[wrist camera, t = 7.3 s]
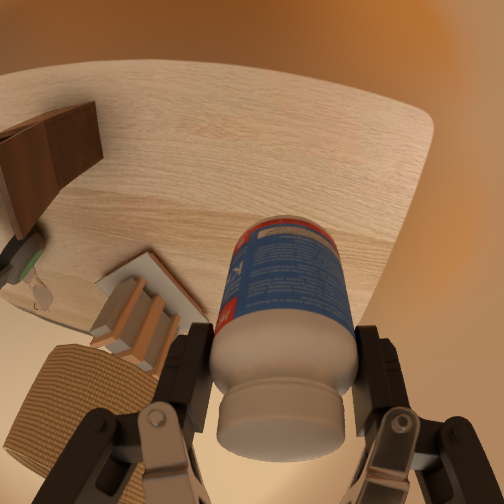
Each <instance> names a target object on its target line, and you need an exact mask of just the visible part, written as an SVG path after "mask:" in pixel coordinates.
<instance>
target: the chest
mask: <svg viewBox="0 0 504 504" xmlns="http://www.w3.org/2000/svg"><path fill="white" fill-rule="evenodd" d="M41 121H44V124H45V129H46V135H47V140H48V145H49V150H50V155H51V159H52V164H53V168H54V172H55V176H56V180H57V184H58V188H59V191H60V190H61V189H62V188H63V187H65V186H66V185H67V184H69V183H70V182H71V181H73V180H74V179H75V178H77V177H78V176H79V175H81V174H82V173H83V172H85V171H86V170H88V169H89V168H90V167H92V166H93V165H95V164H96V163H97V162H99V161H100V160H102V159H103V153H102V147H101V141H100V135H99V129H98V122H97V115H96V108H95V101H93V102H88V103H83V104H79V105H75V106H70V107H66V108H62V109H58V110H55V111H51V112H47V113H44V114H42V115H39V116H37V117H34V118H32V119H29V120H27V121H24V122H22V123H20V124H18V125H15V126H13V127H11V128H9V129H7V130H4V131H2V132H0V143H1V142H3V141H5V140H6V139H8V138H10V137H12V136H13V135H15V134H17V133H19V132H21V131H23V130H24V129H26V128H28V127H30V126H32V125H34V124H36V123H38V122H41Z"/></svg>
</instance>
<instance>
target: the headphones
mask: <svg viewBox="0 0 504 504" xmlns="http://www.w3.org/2000/svg"><path fill="white" fill-rule="evenodd" d="M44 244H45V243H44V239H43V238H42V236H41V235H40V234H39V233H38V231H37V229H36V228H35V227H34V226H33V227H32V228H31V230H30V231H29V232H28V234H27V235H26V237H25V238H24V239H21V240H17V238H16V235H14V236H13V237H12V239H11V240H10V241H9V242H8V244H7V245H6V247H5V248H4V250H3V251H2V253H1V254H0V289H1V288H2V287H3V286H4V285H5V284H6V283H7V282H8V283H9V284H12V285H15V284H18V283H19V282H20V281H21V280H22V279H23V278H24V277H25V276H26V275H27V274H28V272H29V271H30V270H31V269H32V267H33V266H34V264H35V263H36V261H37V260H38V258H39V257H40V255H41V253H42V251H43V249H44Z"/></svg>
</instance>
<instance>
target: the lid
mask: <svg viewBox="0 0 504 504" xmlns="http://www.w3.org/2000/svg"><path fill="white" fill-rule="evenodd" d="M0 191H1V194H2V197H3V200H4V203H5V207H6V210H7V213H8V216H9V218H10V221H11V224H12V227H13V230H14V232H15V235H16V238H17V240H21V239H24V238H25V237H26V235H27V234H28V232H29V231H30V230H31V228H32V227H33V226H34V224H35V223H36V221H37V220H38V219H39V218H40V216H41V215H42V214H43V212H44V211H45V210H46V208H47V207H48V206H49V205H50V203H51V202H52V201H53V200H54V198H55V197H56V196H57V195H58V193H59V188H58V184H57V180H56V176H55V172H54V168H53V164H52V159H51V155H50V150H49V145H48V140H47V135H46V129H45V124H44V121H41V122H38V123H36V124H34V125H32V126H30V127H28V128H26V129H24V130H23V131H21V132H19V133H17V134H15V135H13V136H12V137H10V138H8V139H6V140H5V141H3V142H1V143H0Z"/></svg>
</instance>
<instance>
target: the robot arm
mask: <svg viewBox="0 0 504 504" xmlns="http://www.w3.org/2000/svg"><path fill="white" fill-rule="evenodd" d="M213 337H214V330H213V325H212V323H199V322H193V323H192V324H191V326H190V330H189V333H188V335H178V336H177V337H176V339H175V340H174V341H173V342H172V343H171V344H170V347H169V350H168V353H167V358H166V359H165V362H164V366H163V368H162V371H161V374H160V377H159V381H158V384H157V387H156V390H155V393H154V396H153V399H152V401H151V402H150V404H148V405H146V406H145V407H143V408H142V410H141V411H139V412H136V413H130V414H121V415H114V414H113V413H112V412H111V411H110V410H108V409H106V408H95V409H92V410H90V411H89V412H88V413H87V414H86V415H85V416H84V418H83V419H82V421H81V422H80V424H79V425H78V427H77V429H76V430H75V432H74V433H73V435H72V437H71V438H70V440H69V441H68V443H67V445H66V446H65V448H64V449H63V451H62V453H61V454H60V456H59V458H58V459H57V461H56V463H55V464H54V466H53V468H52V469H51V471H50V473H49V474H48V476H47V478H46V479H45V481H44V483H43V485H42V486H41V488H40V490H39V491H38V493H37V495H36V497H35V498H34V500H33V502H32V503H31V504H117V503H118V501H119V499H120V498H121V496H122V494H123V492H124V490H125V488H126V486H127V484H128V482H129V480H130V478H131V476H132V474H133V472H134V471H135V469H136V467H137V465H138V463H139V462H144V467H145V472H144V474H143V475H142V485H143V491H144V496H145V501H146V504H211V502H210V499H209V496H208V494H207V491H206V489H205V487H204V484H203V480H202V477H201V473H200V470H199V466H198V462H197V459H196V455H195V451H194V447H193V444H192V442H193V437H194V433H195V432H199V433H203V429H204V423H205V418H206V413H207V408H208V403H209V398H210V393H211V388H212V383H213V379H212V377H211V373H210V369H209V358H210V351H211V346H212V341H213ZM355 337H356V343H357V349H358V358H359V367H358V373H357V376H356V379H355V381H354V383H353V384H352V395H353V404H354V413H355V423H356V434H357V437H364V436H365V442H366V445H365V447H364V449H363V451H362V454H361V457H360V460H359V462H358V465H357V467H356V470H355V472H354V475H353V477H352V480H351V482H350V485H349V487H348V489H347V491H346V493H345V495H344V496H343V498H342V500H341V502H340V504H404V503H405V500H406V497H407V494H408V491H409V485H410V482H409V481H408V473H409V470H410V469H413V470H414V471H415V474H416V476H417V479H418V482H419V485H420V488H421V491H422V494H423V497H424V499H425V503H426V504H504V498H503V496H502V493H501V491H500V488H499V485H498V483H497V480H496V478H495V475H494V473H493V470H492V468H491V466H490V463H489V461H488V459H487V456H486V454H485V452H484V450H483V447H482V445H481V443H480V441H479V439H478V437H477V434H476V432H475V430H474V428H473V426H472V424H471V423H470V422H469V421H468V420H467V419H465V418H463V417H460V416H455V417H451V418H449V419H447V420H446V421H445V422H444V423H443V422H436V421H430V420H425V419H423V418H421V417H419V416H418V415H417V414H416V413H415V412H414V411H413V410H412V409H411V407H410V405H409V401H408V397H407V392H406V388H405V383H404V379H403V375H402V371H401V367H400V363H399V359H398V355H397V352H396V348H395V347H394V345H393V344H392V343H391V342H390V340H389V339H388V338H384V339H379V335H378V331H377V327H376V326H375V325H367V326H366V325H365V326H356V328H355Z"/></svg>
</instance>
